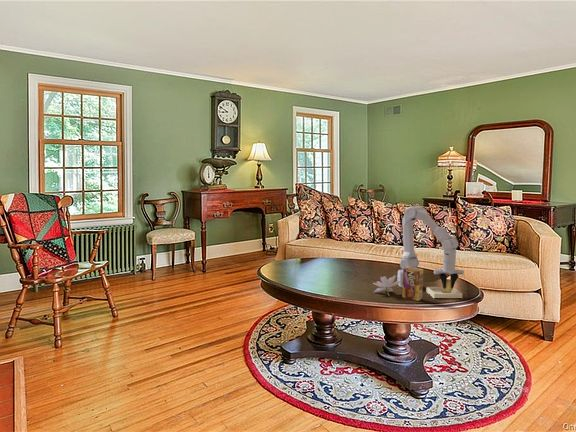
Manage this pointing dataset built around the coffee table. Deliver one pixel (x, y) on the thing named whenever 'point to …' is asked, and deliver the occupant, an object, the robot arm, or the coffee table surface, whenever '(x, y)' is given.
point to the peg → (448, 285)
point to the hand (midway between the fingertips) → (447, 288)
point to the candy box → (412, 283)
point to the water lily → (386, 284)
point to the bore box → (443, 292)
